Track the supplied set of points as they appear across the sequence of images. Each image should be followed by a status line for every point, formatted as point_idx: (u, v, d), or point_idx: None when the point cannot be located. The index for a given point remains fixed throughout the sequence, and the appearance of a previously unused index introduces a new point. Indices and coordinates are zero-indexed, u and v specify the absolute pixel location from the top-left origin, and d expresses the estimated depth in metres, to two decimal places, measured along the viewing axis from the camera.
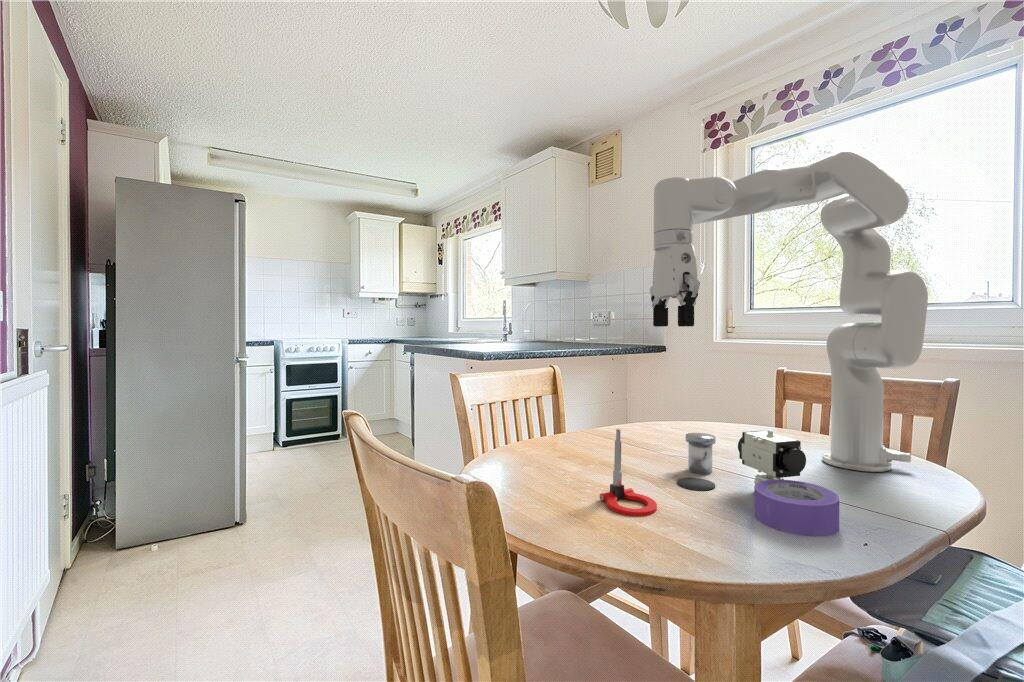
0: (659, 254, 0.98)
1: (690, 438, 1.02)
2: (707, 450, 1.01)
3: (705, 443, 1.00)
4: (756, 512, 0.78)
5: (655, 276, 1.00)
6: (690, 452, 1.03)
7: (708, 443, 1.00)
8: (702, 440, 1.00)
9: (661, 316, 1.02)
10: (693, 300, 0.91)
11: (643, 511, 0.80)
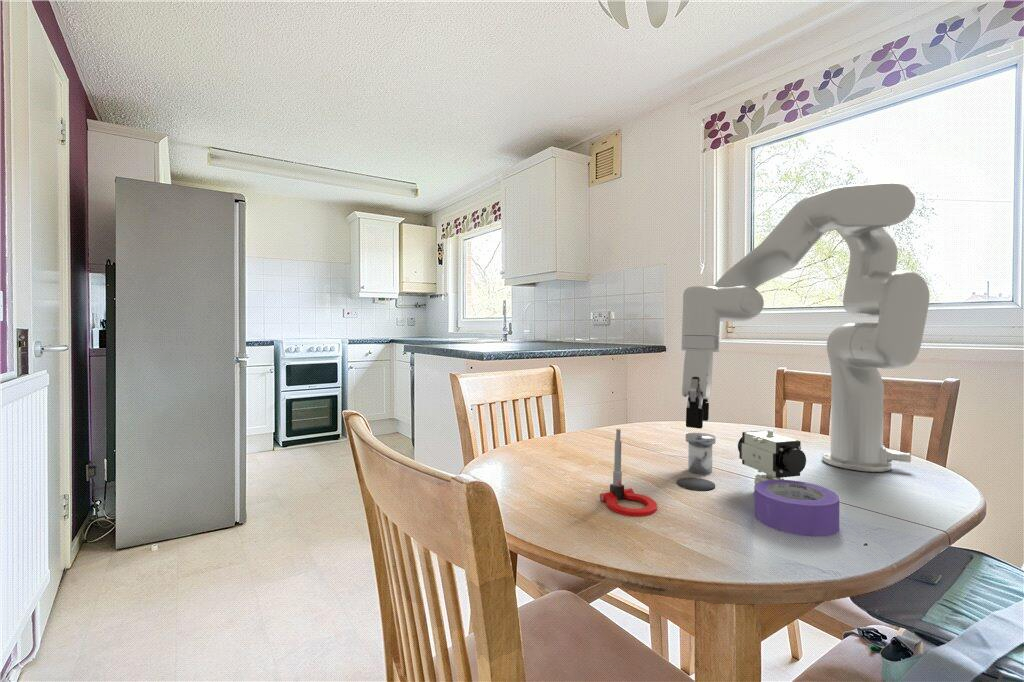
0: (711, 356, 1.01)
1: (690, 438, 1.02)
2: (707, 450, 1.01)
3: (705, 443, 1.00)
4: (756, 512, 0.78)
5: (709, 377, 0.99)
6: (690, 452, 1.03)
7: (708, 443, 1.00)
8: (702, 440, 1.00)
9: None
10: None
11: (643, 511, 0.80)
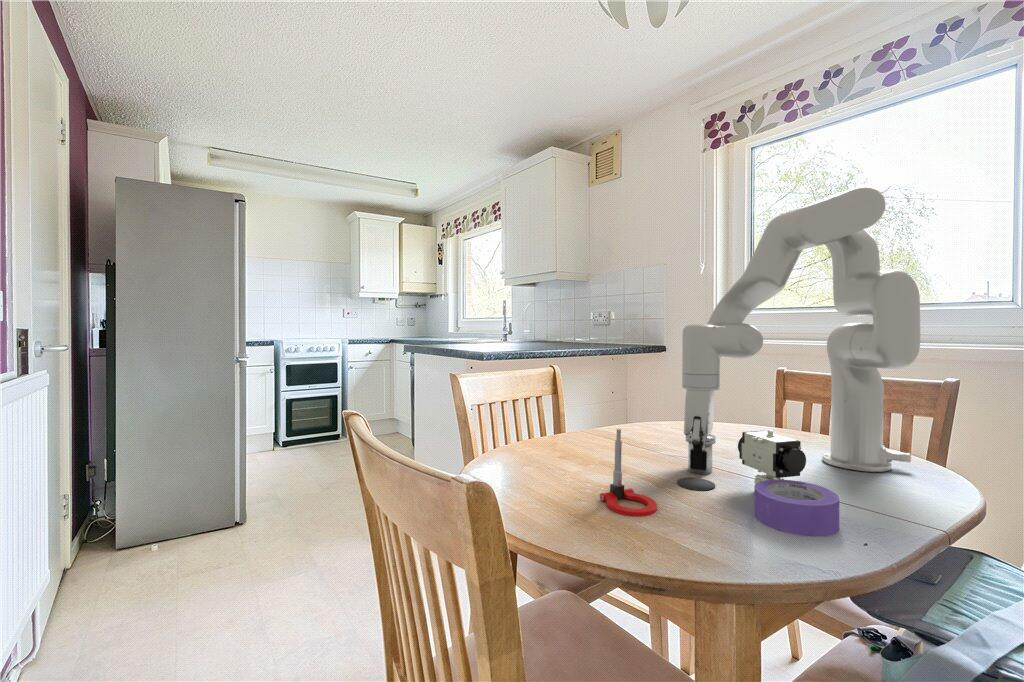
0: (712, 394, 1.01)
1: (690, 438, 1.02)
2: (707, 450, 1.01)
3: None
4: (756, 512, 0.78)
5: (710, 416, 1.00)
6: None
7: (708, 443, 1.00)
8: None
9: None
10: None
11: (643, 511, 0.80)
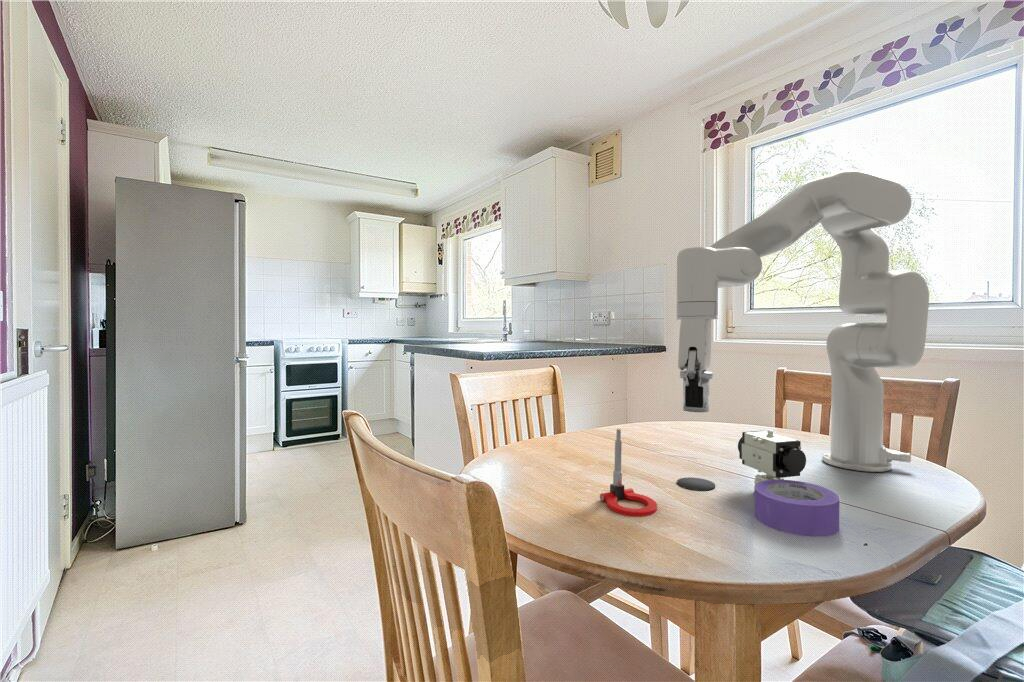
0: (710, 324, 0.92)
1: (685, 373, 0.93)
2: (704, 385, 0.92)
3: None
4: (756, 512, 0.78)
5: (707, 347, 0.90)
6: None
7: (704, 378, 0.91)
8: None
9: None
10: None
11: (644, 511, 0.80)
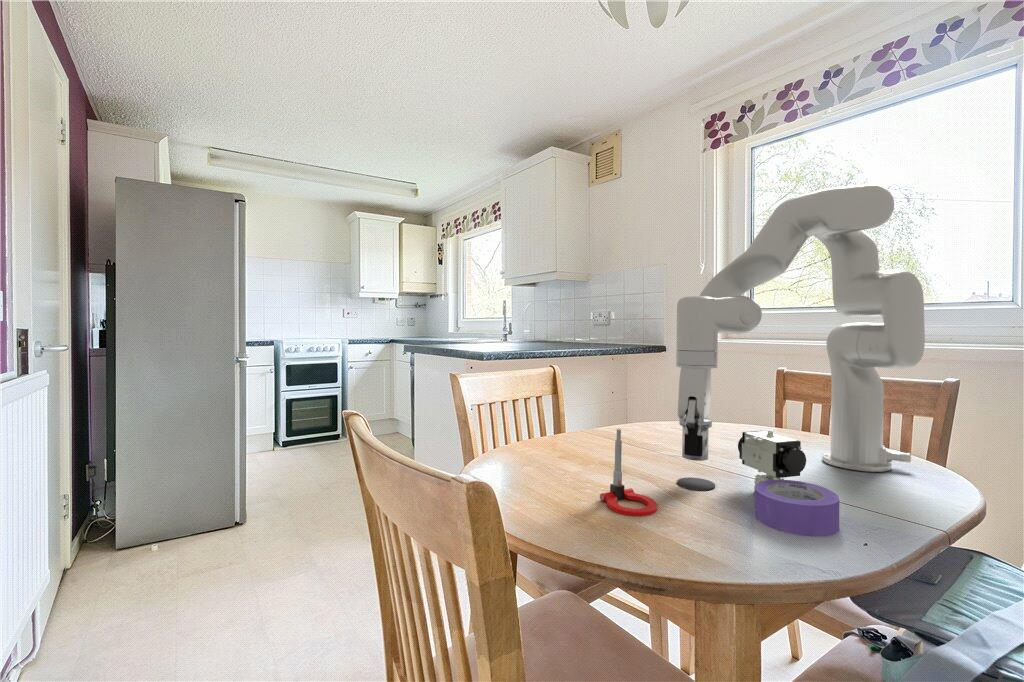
0: (709, 373, 0.92)
1: (684, 421, 0.93)
2: (703, 434, 0.92)
3: None
4: (756, 512, 0.78)
5: (706, 396, 0.90)
6: (684, 437, 0.94)
7: (704, 426, 0.91)
8: (697, 423, 0.91)
9: None
10: None
11: (644, 511, 0.80)
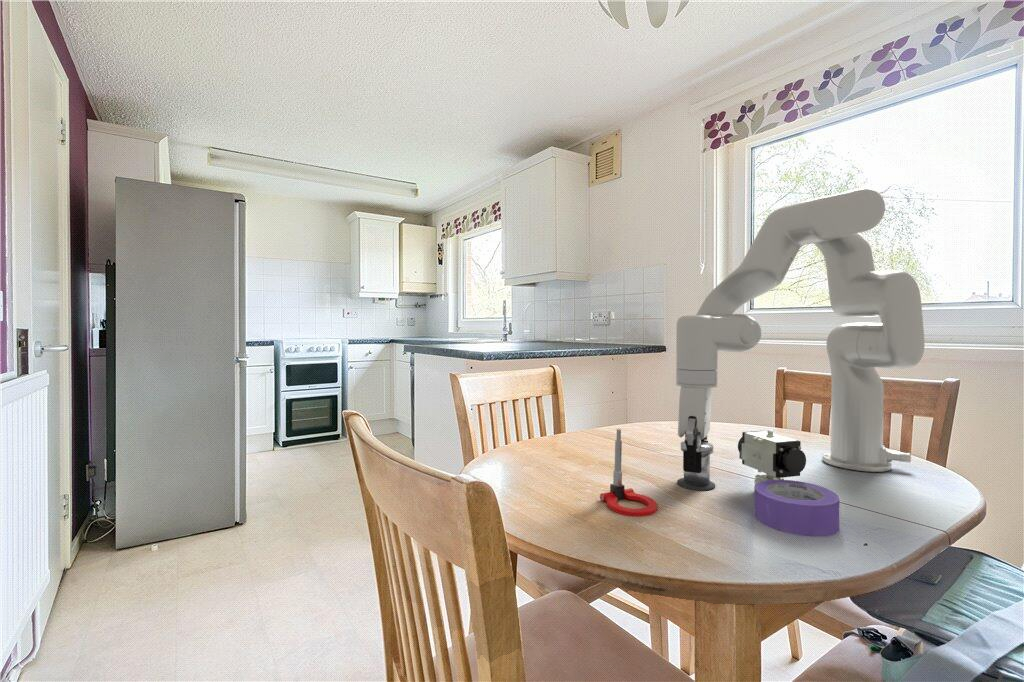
0: (709, 392, 0.92)
1: None
2: (705, 460, 0.92)
3: (702, 453, 0.92)
4: (756, 512, 0.78)
5: (707, 415, 0.91)
6: None
7: (705, 453, 0.92)
8: None
9: None
10: None
11: (644, 511, 0.80)
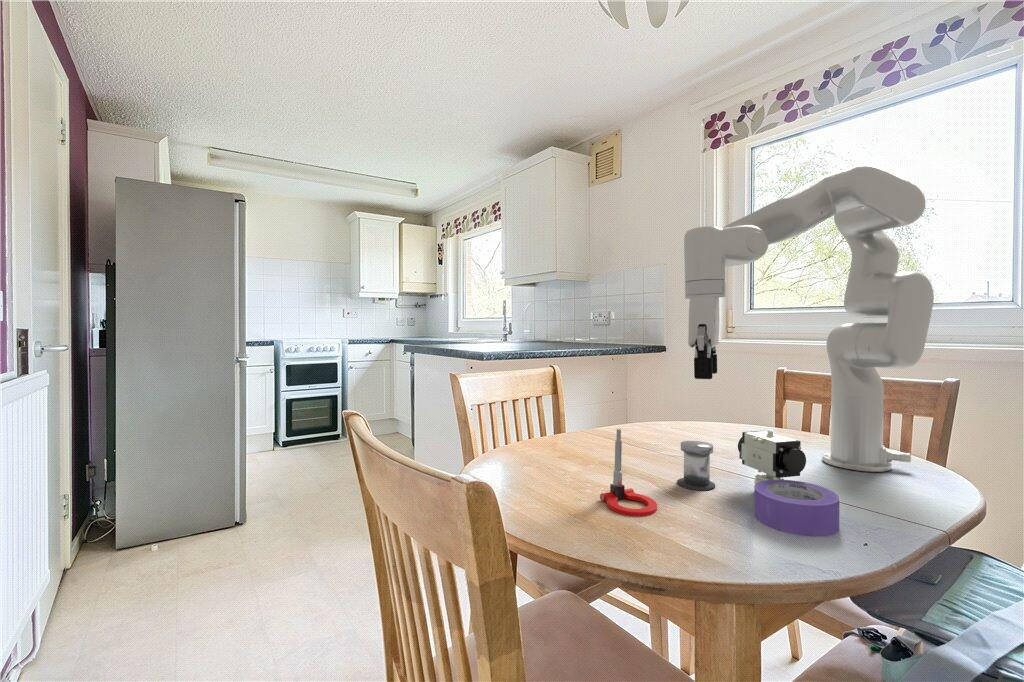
0: (718, 302, 0.94)
1: (685, 447, 0.93)
2: (704, 460, 0.92)
3: (702, 452, 0.92)
4: (756, 512, 0.78)
5: (716, 324, 0.92)
6: (685, 462, 0.94)
7: (705, 452, 0.92)
8: (698, 449, 0.92)
9: None
10: None
11: (644, 511, 0.80)
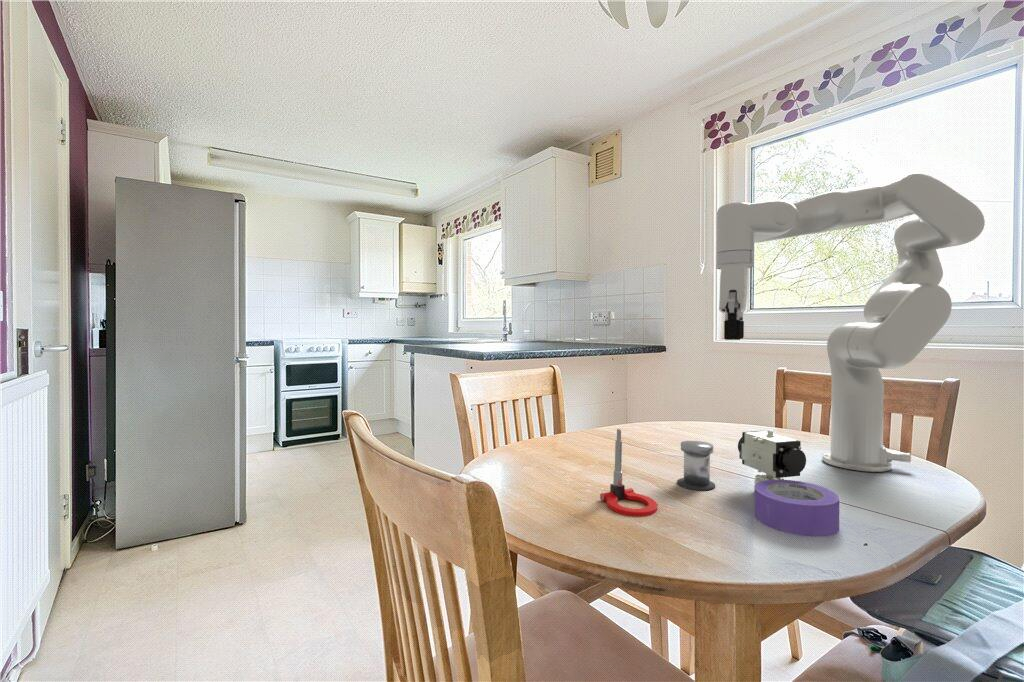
0: (747, 271, 1.04)
1: (685, 447, 0.93)
2: (704, 460, 0.92)
3: (702, 452, 0.92)
4: (756, 512, 0.78)
5: (745, 290, 1.02)
6: (685, 462, 0.94)
7: (705, 452, 0.92)
8: (698, 449, 0.92)
9: None
10: None
11: (644, 511, 0.80)
